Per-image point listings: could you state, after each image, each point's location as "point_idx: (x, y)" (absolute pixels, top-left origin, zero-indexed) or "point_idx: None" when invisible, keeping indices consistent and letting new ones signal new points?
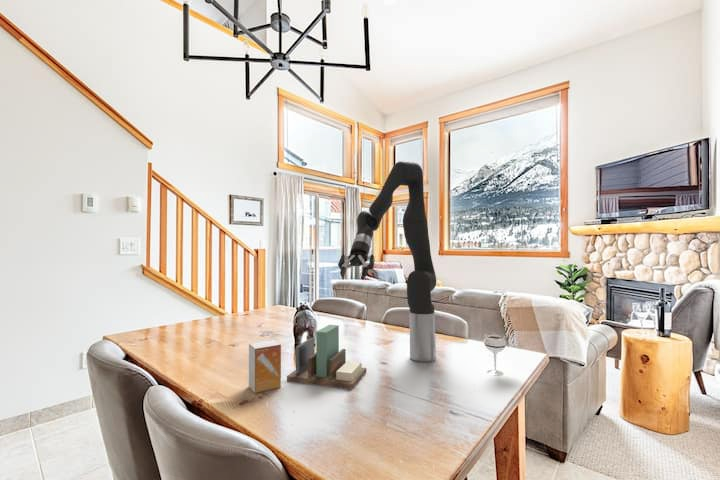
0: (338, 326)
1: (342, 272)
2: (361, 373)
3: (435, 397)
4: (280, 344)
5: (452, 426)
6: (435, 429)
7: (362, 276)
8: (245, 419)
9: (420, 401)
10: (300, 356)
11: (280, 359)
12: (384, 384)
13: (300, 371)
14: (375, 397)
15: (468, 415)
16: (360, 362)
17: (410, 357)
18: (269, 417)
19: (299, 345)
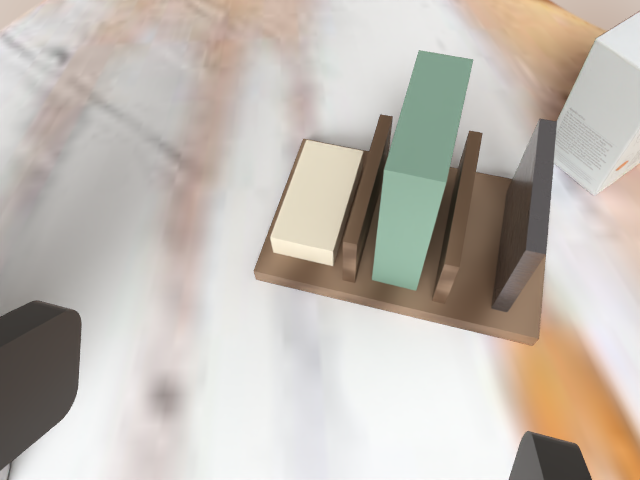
0: (384, 172)
1: (548, 451)
2: (274, 218)
3: (69, 115)
4: (597, 37)
5: (89, 14)
6: (128, 5)
7: (73, 357)
8: (538, 14)
9: (119, 95)
10: (525, 157)
11: (574, 84)
12: (199, 184)
13: (508, 193)
14: (237, 109)
15: (32, 47)
16: (274, 236)
17: (7, 469)
18: (487, 23)
19: (547, 136)
